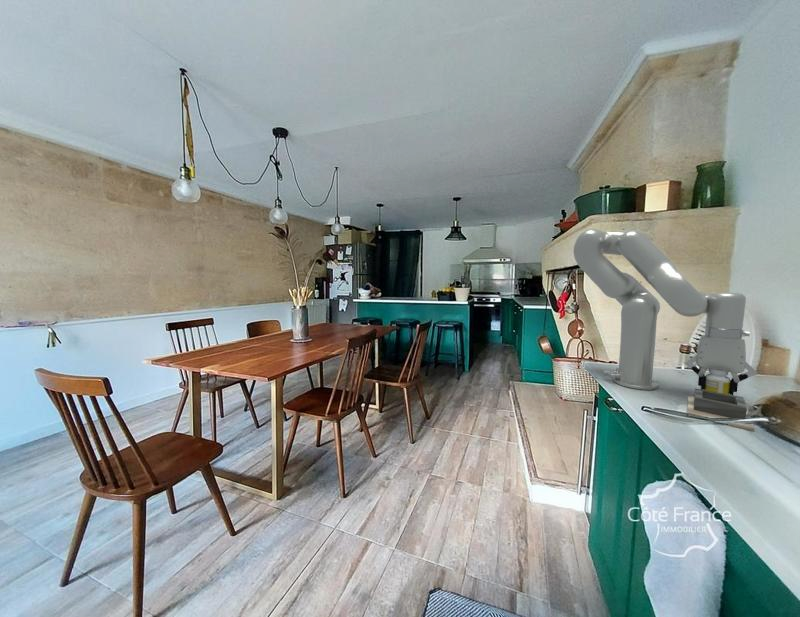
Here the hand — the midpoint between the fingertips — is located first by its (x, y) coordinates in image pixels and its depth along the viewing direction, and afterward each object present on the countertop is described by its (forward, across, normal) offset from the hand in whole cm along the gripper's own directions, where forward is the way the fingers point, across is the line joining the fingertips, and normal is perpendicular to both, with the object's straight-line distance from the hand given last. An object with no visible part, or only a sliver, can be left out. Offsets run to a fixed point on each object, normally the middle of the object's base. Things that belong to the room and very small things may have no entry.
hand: (716, 390), depth 91 cm
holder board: (+3, 0, +12) cm, 12 cm away
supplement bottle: (+3, 0, 0) cm, 3 cm away
